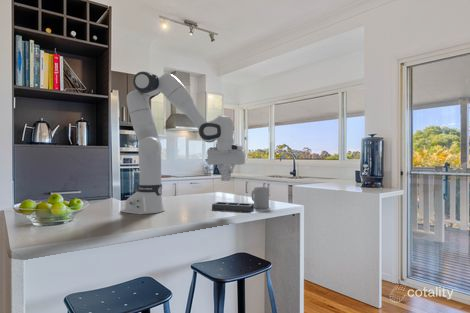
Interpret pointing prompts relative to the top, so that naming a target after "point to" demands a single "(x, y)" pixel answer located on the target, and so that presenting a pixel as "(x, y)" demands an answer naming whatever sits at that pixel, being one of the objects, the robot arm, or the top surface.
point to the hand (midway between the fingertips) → (226, 173)
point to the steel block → (225, 172)
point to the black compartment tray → (233, 206)
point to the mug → (260, 197)
